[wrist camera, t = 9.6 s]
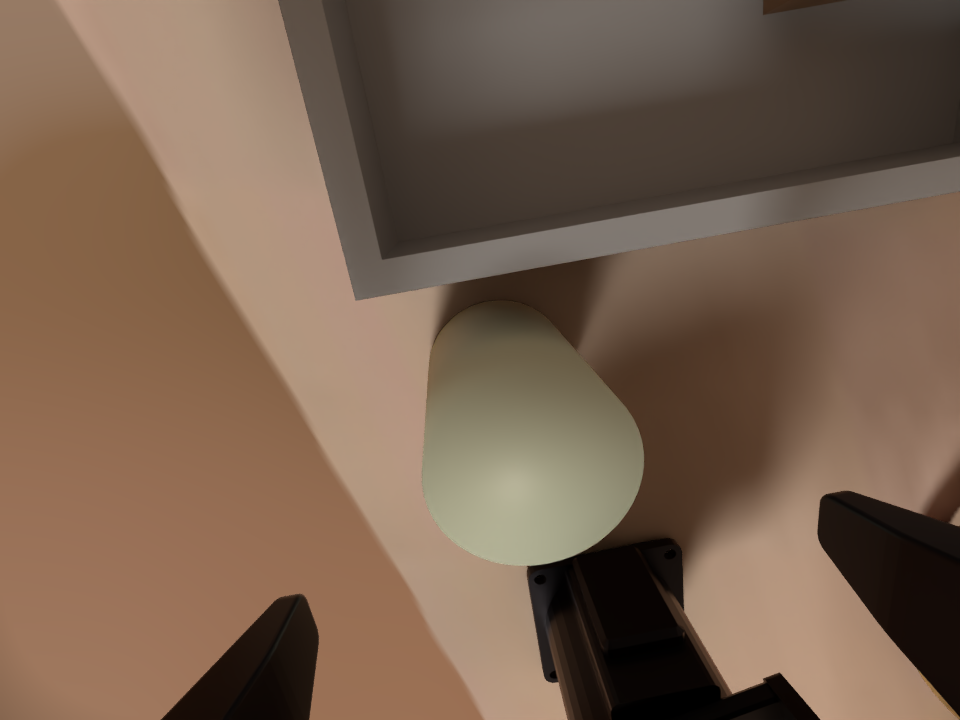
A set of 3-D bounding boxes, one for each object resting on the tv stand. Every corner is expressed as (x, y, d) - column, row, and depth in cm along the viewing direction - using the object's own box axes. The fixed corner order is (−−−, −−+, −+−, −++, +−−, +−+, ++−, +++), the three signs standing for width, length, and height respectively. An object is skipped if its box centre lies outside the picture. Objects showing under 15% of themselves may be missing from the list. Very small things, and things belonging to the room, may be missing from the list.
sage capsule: (573, 417, 18) (649, 543, 12) (443, 441, 18) (445, 583, 11) (558, 288, 16) (637, 349, 10) (415, 314, 16) (399, 394, 10)
